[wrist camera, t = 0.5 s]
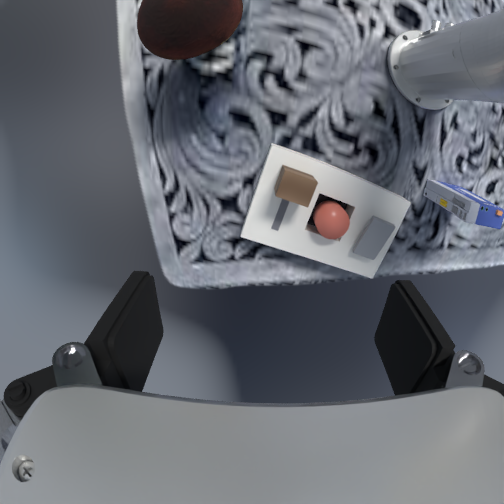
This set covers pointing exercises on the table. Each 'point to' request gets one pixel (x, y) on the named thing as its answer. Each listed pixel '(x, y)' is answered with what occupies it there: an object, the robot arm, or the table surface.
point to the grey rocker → (373, 238)
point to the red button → (331, 219)
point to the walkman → (464, 204)
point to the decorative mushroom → (186, 26)
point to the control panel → (296, 216)
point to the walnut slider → (295, 186)
